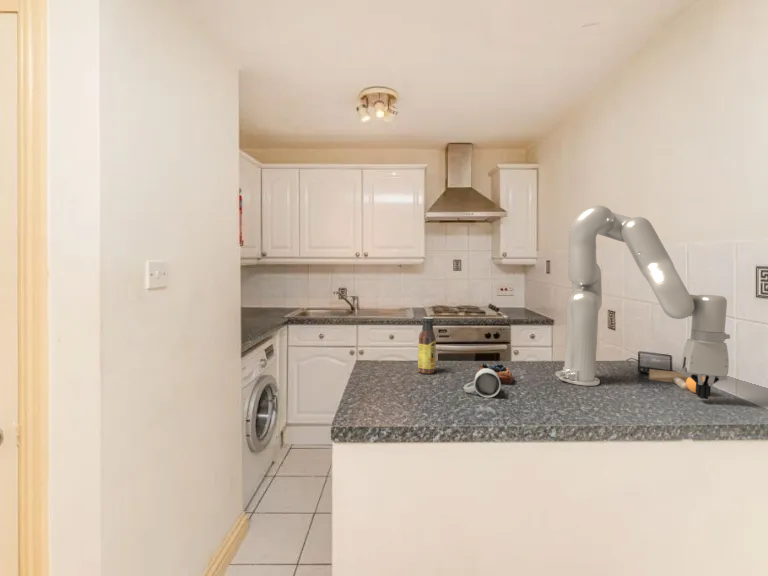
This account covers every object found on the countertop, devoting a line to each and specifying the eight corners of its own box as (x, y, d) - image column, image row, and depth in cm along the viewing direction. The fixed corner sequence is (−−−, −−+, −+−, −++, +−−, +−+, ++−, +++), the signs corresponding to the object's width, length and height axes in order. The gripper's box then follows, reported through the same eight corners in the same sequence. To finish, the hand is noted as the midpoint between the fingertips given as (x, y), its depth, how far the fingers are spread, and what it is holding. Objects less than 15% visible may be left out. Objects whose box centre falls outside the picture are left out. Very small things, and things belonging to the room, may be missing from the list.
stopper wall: (698, 385, 131) (698, 375, 131) (650, 380, 135) (651, 370, 135) (695, 383, 133) (696, 373, 133) (648, 378, 137) (649, 369, 137)
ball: (692, 385, 126) (690, 398, 123) (683, 371, 125) (681, 384, 122) (714, 383, 122) (713, 397, 118) (705, 369, 121) (704, 383, 117)
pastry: (476, 374, 138) (477, 358, 137) (511, 377, 135) (512, 361, 134) (476, 383, 127) (477, 365, 127) (514, 386, 124) (515, 369, 124)
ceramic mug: (498, 390, 119) (498, 366, 119) (500, 399, 111) (501, 373, 111) (463, 387, 121) (464, 364, 121) (463, 396, 113) (464, 370, 113)
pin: (688, 382, 125) (678, 375, 133) (680, 384, 125) (671, 377, 133) (691, 389, 124) (681, 382, 132) (683, 391, 125) (674, 384, 133)
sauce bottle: (434, 375, 134) (436, 319, 132) (416, 373, 135) (418, 318, 134) (435, 370, 140) (437, 317, 139) (418, 369, 141) (420, 316, 140)
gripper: (731, 336, 113) (726, 397, 114) (672, 332, 118) (667, 390, 119) (746, 341, 106) (740, 405, 107) (682, 336, 111) (677, 398, 112)
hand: (702, 397), depth 113 cm, fingers closed
